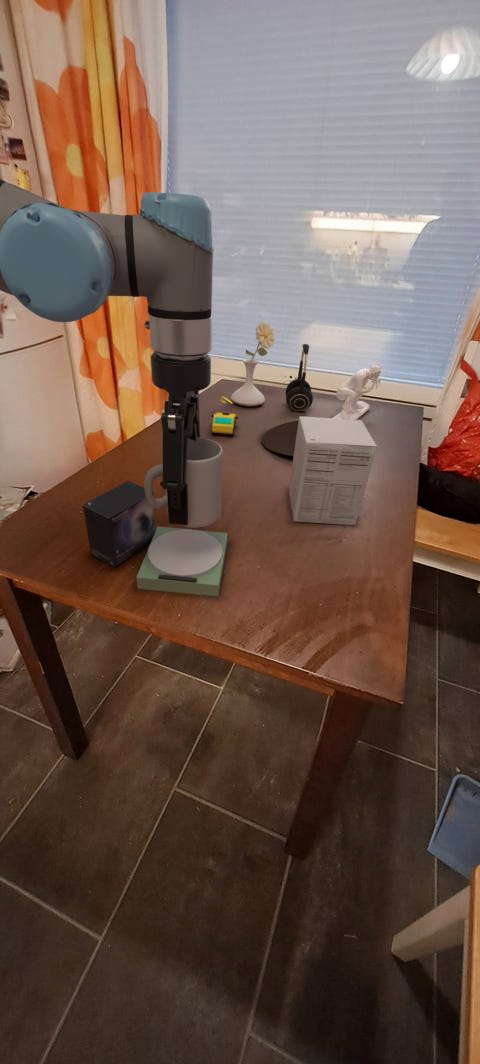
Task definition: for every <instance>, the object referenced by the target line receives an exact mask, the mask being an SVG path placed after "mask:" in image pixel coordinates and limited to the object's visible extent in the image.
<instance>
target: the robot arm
mask: <svg viewBox="0 0 480 1064" xmlns="http://www.w3.org/2000/svg"><path fill="white" fill-rule="evenodd" d="M213 244H214V243H213V213H212V208H211V206H210V203H209V202H208V201H207V199H205V198H204V197H202V196H199V195H193V194H184V193H174V192H160V191H159V192H158V191H157V192H156V191H155V192H153V191H148V192H144V193H143V194H142V195H141V198H140V208H139V214H138V213H137V214H125V215H124V214H114V213H104V212H97V211H96V212H95V211H84V210H77V209H70V208H66V207H65V206H62V205H59V204H57V203H55V202H53V201H51V200H49V199H47V198H45V197H42V196H40V195H38V194H36V193H33V192H32V191H29V190H27V189H25V188H23V187H20V186H18V185H16V184H13V183H10V182H8V181H6V180H3V179H1V178H0V292H3V293H5V294H8V295H11V296H13V297H14V298H15V299H17V301H18V302H19V303H20V304H21V305H22V306H23V307H25V308H26V309H27V310H29V311H30V312H32V313H33V314H34V315H36V316H37V317H40V318H43V319H45V320H47V321H51V322H56V323H72V322H76V321H79V320H81V319H84V318H86V317H87V316H90V315H92V314H94V313H96V312H97V311H98V310H100V308H101V307H102V306H103V305H104V304H105V302H106V300H107V298H108V297H132V298H140V297H141V298H146V303H147V314H148V315H147V316H148V320H145V321H144V324H143V326H144V328H145V330H149V347H150V349H151V350H152V351H153V352H152V354H151V355H150V370H151V383H152V384H153V385H154V386H155V387H157V388H158V389H160V390H164V391H165V392H166V393H167V394H168V396H167V400H165V401H164V407H163V410H164V411H163V412H161V415H160V420H161V428H162V429H161V430H162V464H163V476H162V481H159V482H160V483H159V486H160V487H162V489H163V490H165V491H166V490H167V498H168V515H167V519H168V524H169V525H177V524H178V526H180V525H187V524H188V493H187V484H186V482H185V479H186V464H187V449H188V438H189V439H191V440H194V441H196V437H198V438H201V422H200V398H199V397H200V391H203V390H205V389H207V388H208V387H209V386H210V385H211V381H212V379H211V375H212V358H211V356H210V355H209V353H210V352H211V351H212V348H213V347H212V346H213V315H212V309H213V308H212V305H213V271H214V270H213V268H214V267H213V266H214V265H213V264H214V248H213V246H214V245H213Z"/></svg>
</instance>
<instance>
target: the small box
mask: <svg viewBox="0 0 480 1064" xmlns="http://www.w3.org/2000/svg"><path fill="white" fill-rule="evenodd" d="M152 494H153V497H154V498H155V496H154V491H153V490H152ZM82 509H83V515H84V520H85V527H86V532H87V539H88V544H89V555H90V556H91V557H94V558H96V559H98V560H100V561H101V562H103V563H105V564H106V565H108V566H111V567H113V568H117V567H119V566H120V565H121V564H123V563H124V562H126V561H127V560H129V559H130V558H132V557H133V556H134V555H136V554H137V553H138V552H140V551H141V550H143V549H144V548H146V547H147V546H148V545H150V543H151V541H152V539H153V536H154V534H155V531H156V529H157V528H156V513H155V508H153V507H151V506H150V505H149V503H148V502H147V499H146V496H145V487H143V486H141V485H139V484H137V483H134V482H132V481H130V480H127V481H124V482H123V483H121V484H119V485H117V486H116V487H113V488H112V489H111V488H110V489H109V490H107V491H106V492H104V493H101V494H100V495H98V496H96V497H94V498H92V499H90V500H88V501H86V502H85V503H83V504H82Z"/></svg>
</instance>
